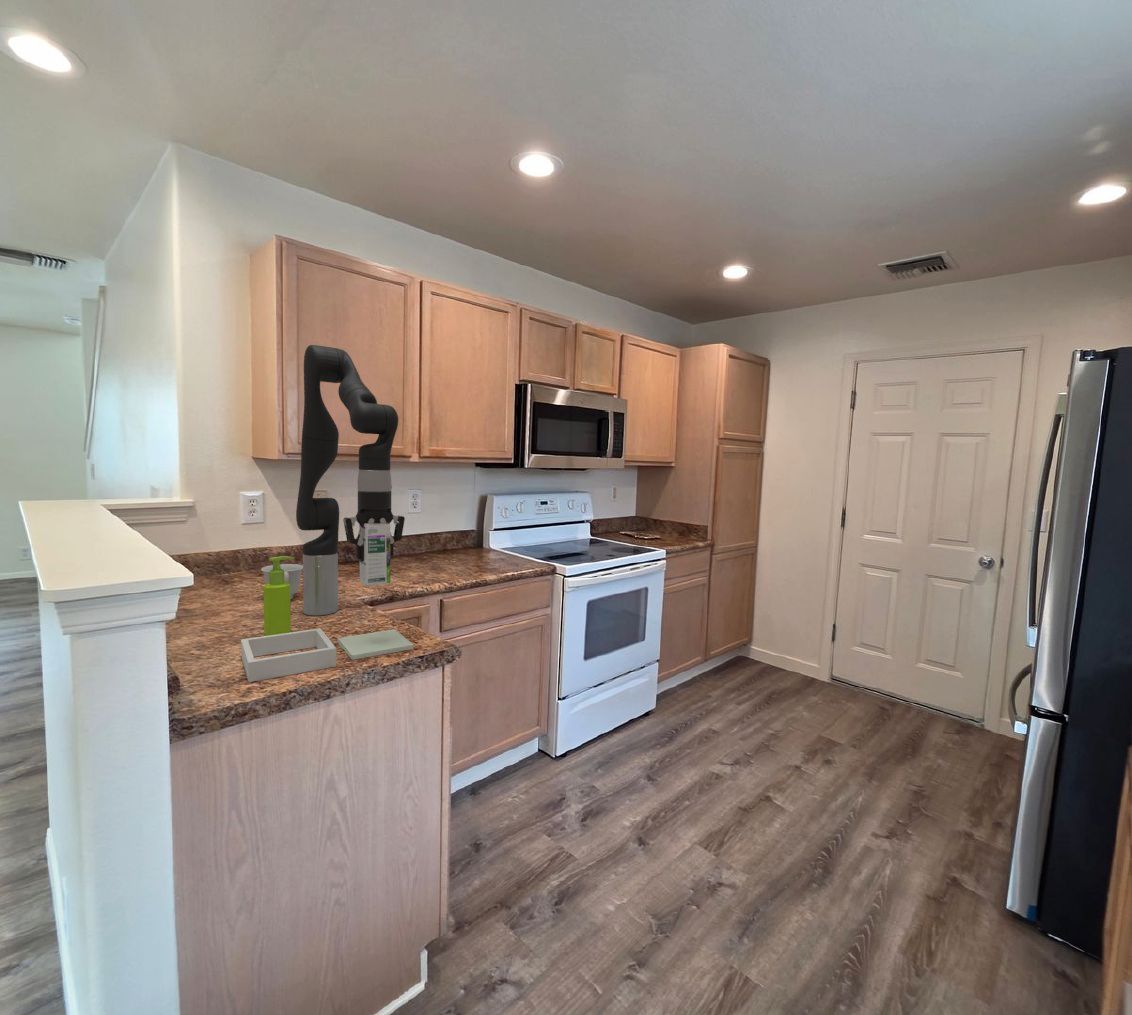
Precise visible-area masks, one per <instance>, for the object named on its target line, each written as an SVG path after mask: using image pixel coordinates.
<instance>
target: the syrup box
mask: <svg viewBox="0 0 1132 1015" xmlns="http://www.w3.org/2000/svg"><path fill="white" fill-rule="evenodd" d="M358 526H359V527H358V530H360V528H361V532H363V530H364V529H365V536H364V542H363V546H364V561H362V562H360V561H359V582H360V583H361V584H363V585H364V586H366V587H367V586H368V587H369V586H375V585H384V584H385V585H387V584H391V582H392V581H391V559H390V532H391V523H390V524H389V523H373V524H367V523H364V528H362V527H361V526H360V524H359V523H358Z"/></svg>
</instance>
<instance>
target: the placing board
mask: <svg viewBox="0 0 1132 1015" xmlns="http://www.w3.org/2000/svg"><path fill="white" fill-rule="evenodd" d="M337 643H338V644H339V646H340V647H341V648H342V649H343V651H344V652H345V653H346V654H347V656H348V657H349V658H350V659H351V660H352V661H353V660H359V659H364V658H371V657H376V656H380V655H388V654H393V653H398V652H399V653H400V652H403V651H410V650H414V646H415V645H414V644H413V643H412V642H411V641H410V640H408V639H407V638H406V637H405V636H403V634H401V633H400V632H399V631H398V630H397V629H395V628H394V629H388V630H382V631H376V632H375V631H374V632H370V633H369V632H368V633H362V634H355V635H349V636H343V637H342V636H341V637H337Z"/></svg>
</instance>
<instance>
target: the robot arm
mask: <svg viewBox="0 0 1132 1015" xmlns="http://www.w3.org/2000/svg"><path fill="white" fill-rule="evenodd" d="M321 383H332V384H339V386H338V391H337V392H338V397H339V400H340V401H341V403H342V404H343V405H344V407H345V408H346V409H347V410H348V414H349V420H350V425H351V428H352V429H353V430H354V431H356V432H358V433H361V434H365V435H366V434H368V435H378V436H377V439H376V441H375V442H373V443H368V444H363V445H361V446H359V449H358V475H357V513H356V515H355V516H351V517H346V516H345V517H344V518H343V520H342V521H343V525H344V530H345V531H344V532H345V536H346V542H348V543H349V544H351V545H355V558H356V559H357V560H358V562H359V563H360V562H362V561H364V546H363V542H364V536H365V529H364V530H363V532H361V528H360V530H359V529H358V530H359V531H358V534H357V536H356V538H355V533H354V528H353V527H354V526H355V525H356V522H357V523H358V525H359V524H360V526H361V527H362V528H364V523H367V524H373V523H389V524H390V525H391V522H392V521H393V524H394V526H395V527H394V531H393V535H392V532H391V531H390V560H391V559H392V558H393V556H394V544H395V543H396V542H398V541H399V542H400V541H401V540H402V538H403V531H404V526H405V516H402V515H393V512H392V488H393V485H392V474H391V453H392V452H391V451H392V448H393V443H394V439H395V436H396V433H397V430H398V425H399V415H398V412H397V410H396V409H395V407H393V405H389V404H380V403H378V401H377V398H376V396H375V395H374V394H373V392H372V391H371V390H370V389H369V388H368V387H367V386H366V385H365V383H364V382H363V380H362V379H361V377H360V374H359V372H358V370H357V368H356V366H355V363H354V361H353V360H352V358H351V356H350V355H349V354H348V352H347V351H345V350H344V349H341V348H339V347H338V348H337V347H332V346H331V347H330V346H324V345H317V344H310V345H308V346H307V347H306V349H305V352H304V355H303V392H304V393H303V394H304V396H303V397H304V398H303V399H304V401H303V403H304V404H303V419H302V430H301V432H302V433H301V445H300V446H301V448H300V449H301V451H300V453H301V454H300V476H299V477H300V479H299V485H298V494H297V502H296V510H295V512H296V513H295V514H296V515H295V516H296V517H295V520H296V525H297V528H298V529H299V530H300V531H323V532H322V534H320V535H319V536H318V537H316V538H314V539H312V540H310V541H308V542H305V543H303V545H302V566H303V569H302V577H303V578H302V581H303V582H302V584H303V585H302V586H303V589H302V590H303V592H302V595H303V596H302V597H303V598H302V599H303V601H302V602H303V604H302V605H303V607H302V608H303V609H302V610H303V614H304V615H306V616H326V615H332V614H334V613H337V612H338V611H339V557H338V556H339V555H338V554H339V553H338V552H339V550H338V549H339V528H340V507H339V503H338V501H337V499H336V498H334V497H314V494H315V491H316V489H317V485H318V484H319V482H320V480H321V479H322V477H323V476H325V475H324V474H325V473H326V472H327V471H328V470H329V468H330V467H331V466H332V465H333V463H334V462H335V460H336V459H337V456H338V451H339V438H340V434H339V429H338V426H337V424H336V422H335V421H334V418H333V417H332V415H331V414H330V412H329V411H328V408H327V407H326V404H325V402H324V400H323V398H322V392H321Z"/></svg>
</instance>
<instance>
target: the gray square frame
mask: <svg viewBox="0 0 1132 1015" xmlns="http://www.w3.org/2000/svg"><path fill="white" fill-rule="evenodd" d="M311 648H316V649H312V650H307V651H300V652H294V653H289V654H288V653H287V654H282V655H275V656H268V657H264V658H263V657H262V658H257V659H255V658H256V657H260V656H267V655H273V654H278V653H279V654H280V653H286V652H292V651H297V650H304V649H311ZM240 651H241V652H240V653H241V655H240V656H241V660H242V664H243V668H244V672H245V675H246V678H247V682H248V683H252V682H258V681H263V680H269V679H275V678H280V677H285V676H291V675H296V674H301V673H307V672H312V671H313V672H314V671H318V670H325V669H329V668H334V667H337V647H336V646H335V645H334V643H333V642H332V641H331V640H330V639H329V637H328V636H327V635H326V634H325V632H324V631H323V629H322V628H320V627H318V628H313V629H305V630H298V631H293V632H292V631H291V633H284V634H276V635H269V636H257V637H256V636H255V637H249V638H244V639H242V638H241V640H240ZM254 657H255V658H254Z"/></svg>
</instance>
